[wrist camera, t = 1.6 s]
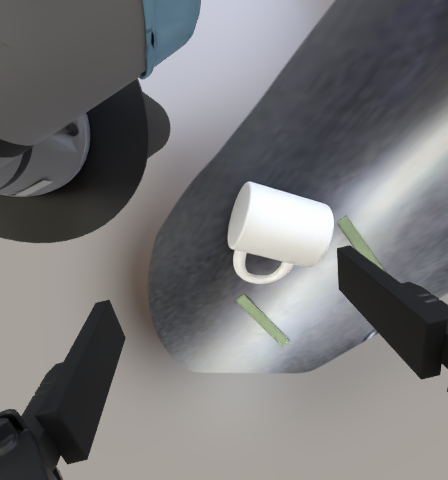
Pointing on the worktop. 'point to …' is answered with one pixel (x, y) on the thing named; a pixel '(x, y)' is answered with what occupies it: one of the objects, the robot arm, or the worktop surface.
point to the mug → (277, 230)
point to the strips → (266, 323)
